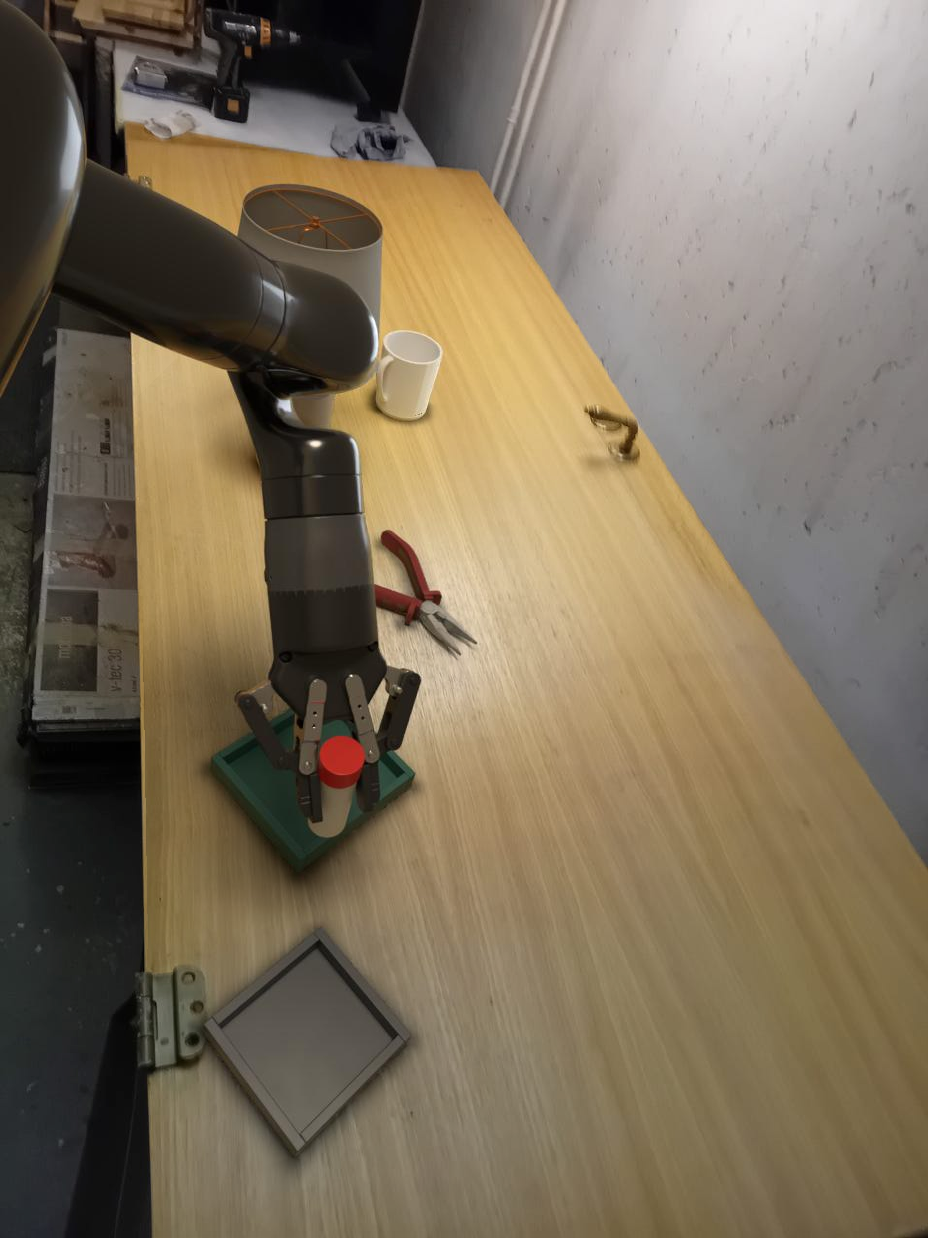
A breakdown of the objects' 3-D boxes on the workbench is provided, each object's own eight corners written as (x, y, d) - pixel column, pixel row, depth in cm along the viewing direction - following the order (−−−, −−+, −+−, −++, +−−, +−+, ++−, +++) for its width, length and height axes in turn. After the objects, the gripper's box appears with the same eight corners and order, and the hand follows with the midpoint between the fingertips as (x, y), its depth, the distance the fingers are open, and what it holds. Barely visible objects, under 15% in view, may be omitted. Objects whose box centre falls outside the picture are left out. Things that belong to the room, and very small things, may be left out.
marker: (323, 847, 63) (339, 783, 56) (298, 817, 65) (310, 751, 57) (355, 823, 65) (374, 758, 58) (329, 794, 66) (345, 728, 59)
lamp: (301, 408, 121) (328, 168, 97) (385, 482, 115) (436, 244, 90) (188, 445, 110) (185, 184, 85) (273, 529, 103) (297, 273, 79)
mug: (402, 382, 132) (414, 324, 124) (440, 413, 129) (455, 355, 121) (350, 401, 125) (359, 340, 118) (389, 433, 122) (401, 373, 115)
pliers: (433, 678, 94) (438, 664, 92) (319, 572, 100) (322, 557, 98) (497, 634, 101) (503, 620, 99) (387, 537, 107) (390, 523, 106)
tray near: (294, 1158, 61) (297, 1152, 59) (203, 1033, 65) (203, 1024, 63) (406, 1043, 68) (412, 1035, 66) (317, 937, 72) (320, 926, 70)
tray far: (297, 873, 75) (300, 861, 73) (210, 770, 80) (210, 756, 78) (411, 786, 84) (416, 773, 82) (326, 698, 89) (329, 684, 87)
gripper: (225, 593, 52) (251, 853, 54) (431, 574, 57) (448, 811, 59) (212, 587, 59) (235, 818, 61) (397, 571, 64) (413, 783, 66)
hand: (340, 813), depth 60 cm, fingers closed on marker, 3 cm apart
